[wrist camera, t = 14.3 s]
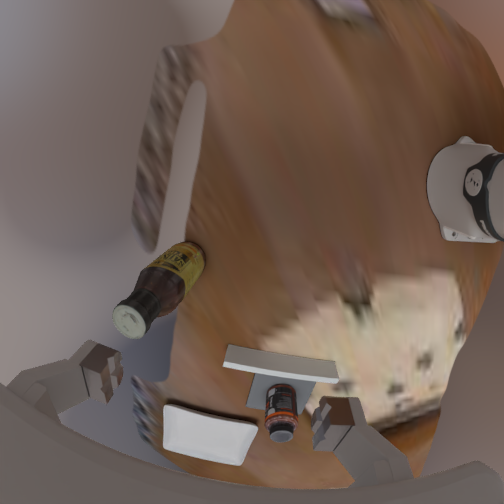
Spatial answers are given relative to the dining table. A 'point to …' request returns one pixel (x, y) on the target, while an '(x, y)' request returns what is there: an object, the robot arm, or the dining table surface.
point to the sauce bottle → (159, 289)
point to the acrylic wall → (280, 365)
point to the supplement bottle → (281, 412)
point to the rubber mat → (267, 381)
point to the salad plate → (206, 435)
